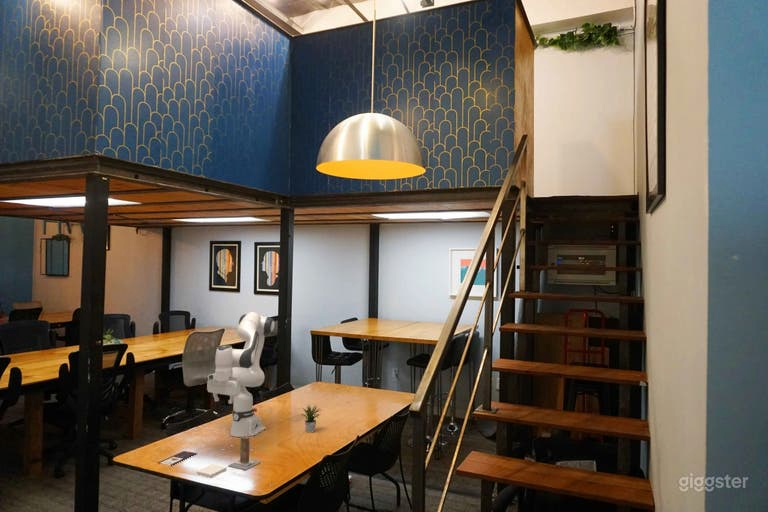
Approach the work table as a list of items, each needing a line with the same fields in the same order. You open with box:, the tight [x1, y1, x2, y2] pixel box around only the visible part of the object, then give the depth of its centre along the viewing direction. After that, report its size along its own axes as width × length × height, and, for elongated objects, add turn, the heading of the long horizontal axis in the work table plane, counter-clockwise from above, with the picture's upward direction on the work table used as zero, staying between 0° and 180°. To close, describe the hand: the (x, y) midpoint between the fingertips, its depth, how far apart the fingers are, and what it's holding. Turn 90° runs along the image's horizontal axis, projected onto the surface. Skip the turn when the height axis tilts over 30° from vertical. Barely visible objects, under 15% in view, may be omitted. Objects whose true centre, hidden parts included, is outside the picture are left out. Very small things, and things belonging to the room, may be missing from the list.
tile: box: [196, 463, 227, 479], centre depth 234 cm, size 2×9×10 cm
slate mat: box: [228, 458, 261, 471], centre depth 244 cm, size 11×11×1 cm
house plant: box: [300, 403, 323, 433], centre depth 298 cm, size 14×14×16 cm
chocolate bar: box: [157, 450, 198, 467], centre depth 251 cm, size 9×1×18 cm
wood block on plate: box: [233, 436, 256, 467], centre depth 244 cm, size 6×8×13 cm
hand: (223, 402), depth 259 cm, fingers open, 8 cm apart
